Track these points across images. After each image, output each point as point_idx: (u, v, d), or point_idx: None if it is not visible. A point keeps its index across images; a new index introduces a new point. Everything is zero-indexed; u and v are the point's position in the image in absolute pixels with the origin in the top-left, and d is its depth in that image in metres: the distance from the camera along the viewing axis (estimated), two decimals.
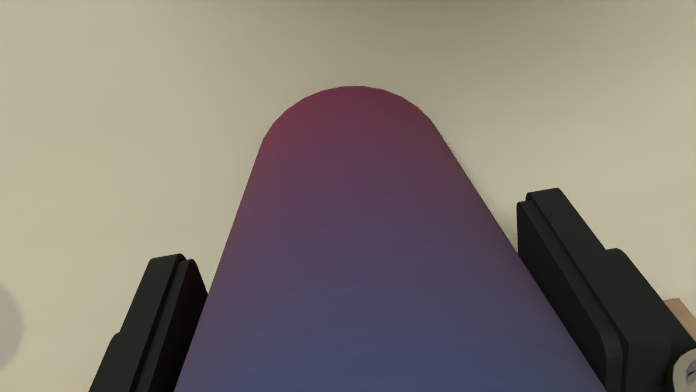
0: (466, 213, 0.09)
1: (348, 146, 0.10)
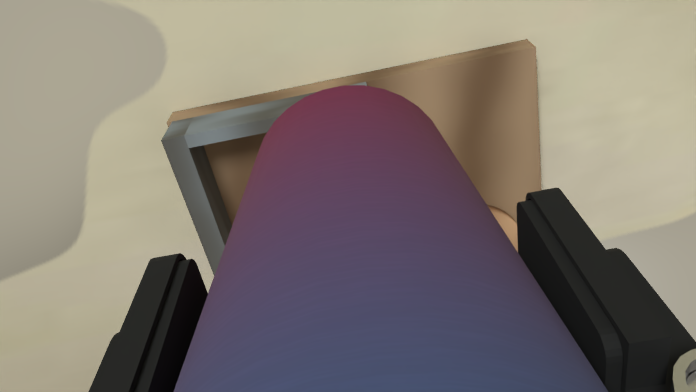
0: (466, 211, 0.09)
1: (348, 145, 0.10)
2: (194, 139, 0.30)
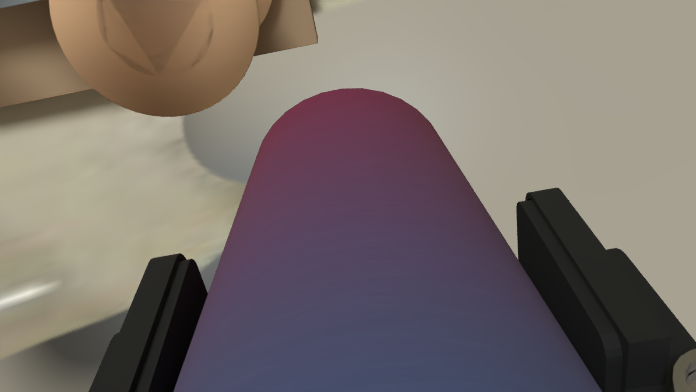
0: (465, 217, 0.09)
1: (347, 149, 0.10)
2: None
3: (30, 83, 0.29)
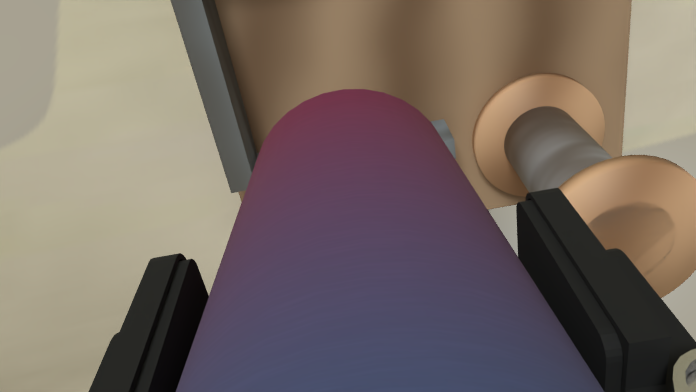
0: (467, 218, 0.09)
1: (349, 150, 0.10)
2: None
3: None
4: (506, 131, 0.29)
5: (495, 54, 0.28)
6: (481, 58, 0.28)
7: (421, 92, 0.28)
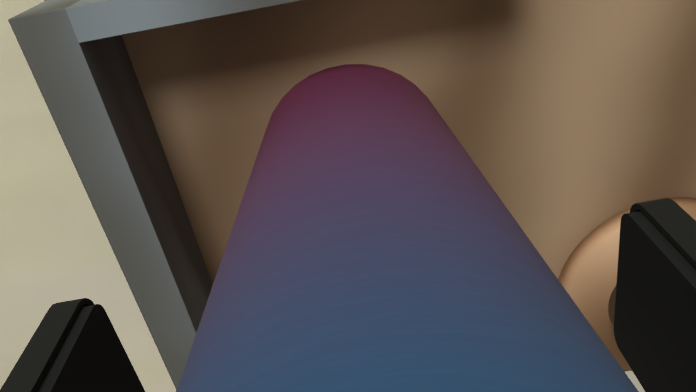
0: (457, 164, 0.10)
1: (352, 111, 0.12)
2: (91, 19, 0.12)
3: None
4: (614, 284, 0.18)
5: (603, 172, 0.17)
6: (580, 177, 0.17)
7: None
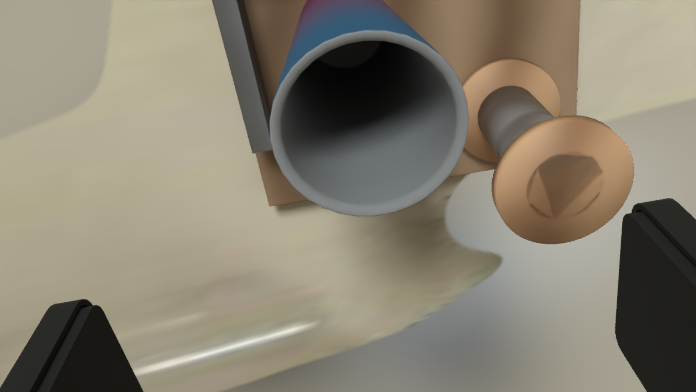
0: (383, 3, 0.27)
1: None
2: None
3: None
4: (479, 106, 0.35)
5: (470, 42, 0.34)
6: (458, 45, 0.34)
7: None
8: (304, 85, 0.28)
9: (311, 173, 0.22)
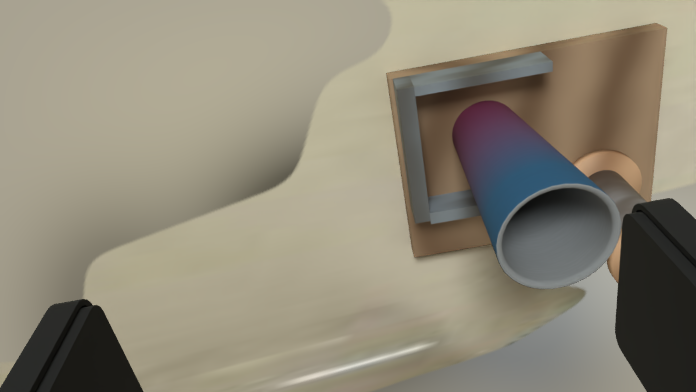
0: (534, 131, 0.38)
1: (500, 117, 0.40)
2: (420, 90, 0.40)
3: (478, 237, 0.50)
4: None
5: (576, 139, 0.46)
6: (567, 141, 0.46)
7: None
8: None
9: (510, 260, 0.34)
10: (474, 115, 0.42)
